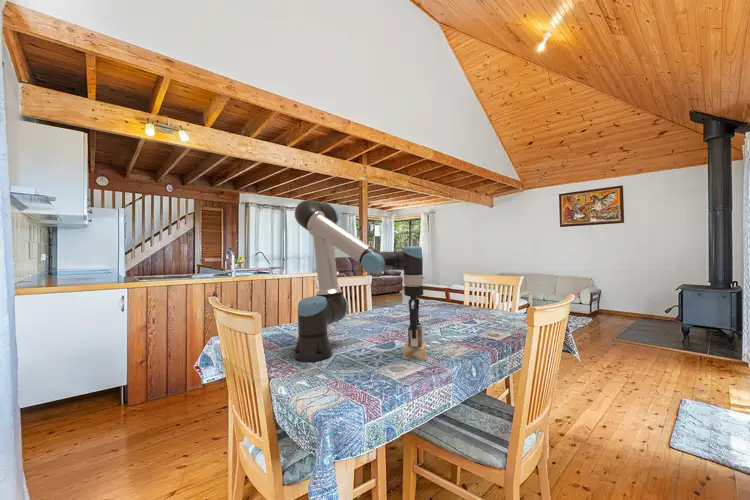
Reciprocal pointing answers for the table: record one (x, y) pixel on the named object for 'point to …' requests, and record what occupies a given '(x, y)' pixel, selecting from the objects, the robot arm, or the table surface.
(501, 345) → the table surface
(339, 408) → the table surface
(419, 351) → the maple base
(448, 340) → the table surface
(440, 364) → the table surface
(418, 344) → the walnut block
